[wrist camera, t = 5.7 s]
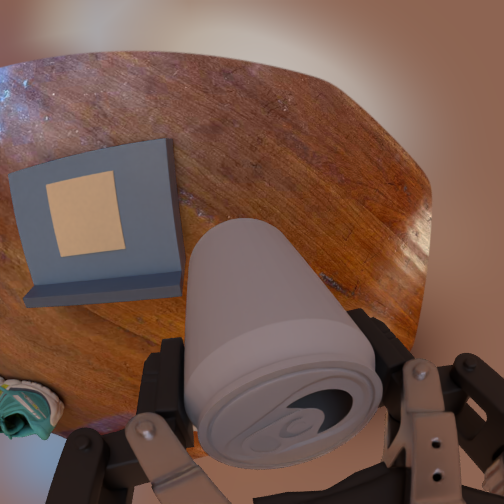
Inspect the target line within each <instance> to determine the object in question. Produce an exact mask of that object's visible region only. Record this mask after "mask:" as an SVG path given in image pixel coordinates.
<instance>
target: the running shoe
mask: <svg viewBox="0 0 504 504" xmlns="http://www.w3.org/2000/svg"><path fill="white" fill-rule="evenodd" d="M63 409H64V404H63V402H62V401H61V400H60V399H59V398H58V395H57V394H55V393H54V392H53V391H51V390H50V389H49V388H48V387H46V386H45V387H44V386H43V385H42V384H40V383H39V384H38V383H37V382H31V381H26V380H24V381H22V382H21V381H19V380H15V379H12V380H6V381H5V379H4V378H3V377H0V433H4V434H5V435H6V436H8V437H9V439H12V437H25V436H29V435H32V434H37V435H38V436H39V437H40V438H41V439H42V440H47V439H48V437H49V436H50V433H51V432H52V430H53V429H54V428H55V426H56V424H57V422H58V421H59V419H60V418H61V416H62V413H63Z"/></svg>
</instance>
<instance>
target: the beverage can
mask: <svg viewBox="0 0 504 504" xmlns="http://www.w3.org/2000/svg"><path fill="white" fill-rule="evenodd" d="M382 393H383V387H382V383H381V380H380V378H379V376H378V375H377V374H376V372H375V354H374V351H373V348H372V345H371V344H370V342H369V341H368V339H367V338H366V337H365V335H364V334H363V333H362V331H361V330H360V329H359V327H358V326H357V325H356V324H355V322H354V321H353V320H352V319H351V317H350V316H349V315H348V313H347V312H346V311H345V310H344V308H343V307H342V306H341V305H340V303H339V302H338V301H337V300H336V298H335V297H334V296H333V295H332V293H331V292H330V291H329V290H328V288H327V287H326V286H325V285H324V283H323V282H322V281H321V280H320V278H319V277H318V276H317V275H316V273H315V272H314V271H313V270H312V269H311V267H310V266H309V265H308V264H307V262H306V261H305V260H304V259H303V258H302V256H301V255H300V254H299V253H298V251H297V250H296V249H295V248H294V247H293V245H292V244H291V243H290V242H289V241H288V239H287V238H286V237H285V236H284V235H283V234H282V233H281V232H280V231H279V230H278V229H277V228H275V227H274V226H272V225H270V224H268V223H266V222H264V221H261V220H257V219H251V218H239V219H232V220H228V221H225V222H223V223H220V224H218V225H216V226H215V227H213V228H211V229H210V230H209V231H208V232H207V233H205V234H204V235H203V236H202V238H201V239H200V240H199V241H198V243H197V244H196V246H195V248H194V250H193V252H192V254H191V258H190V262H189V271H188V286H187V303H186V323H185V350H184V407H185V410H186V413H187V415H188V418H189V419H190V421H191V422H192V424H193V425H194V426H195V427H196V428H197V430H198V439H199V443H200V445H201V447H202V448H203V450H204V451H205V452H206V453H207V454H208V455H209V456H211V457H212V458H214V459H215V460H217V461H219V462H221V463H224V464H227V465H230V466H234V467H238V468H244V469H276V468H283V467H288V466H293V465H297V464H300V463H304V462H307V461H310V460H313V459H316V458H318V457H321V456H323V455H325V454H327V453H329V452H331V451H333V450H335V449H336V448H338V447H340V446H341V445H343V444H344V443H346V442H347V441H349V440H350V439H351V438H353V437H354V436H355V435H356V434H357V433H359V432H360V431H361V430H362V429H363V428H364V427H365V426H366V425H367V423H368V422H369V421H370V420H371V419H372V417H373V416H374V414H375V413H376V411H377V409H378V407H379V404H380V402H381V399H382Z"/></svg>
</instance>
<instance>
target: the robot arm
mask: <svg viewBox="0 0 504 504" xmlns="http://www.w3.org/2000/svg"><path fill="white" fill-rule="evenodd" d="M346 312H347V313H348V315H349V316H350V317H351V319H352V320H353V321H354V322H355V324H356V325H357V326H358V327H359V329H360V330H361V331H362V333H363V334H364V335H365V337H366V338H367V339H368V341H369V342H370V344H371V345H372V348H373V351H374V354H375V372H376V374H377V375H378V376H379V378H380V380H381V383H382V387H383V393H382V399H381V402H380V404H379V407H382V406H385V407H386V408H387V412H386V414H385V435H384V451H383V457H382V460H381V463H379V464H376V465H374V466H371V467H369V468H366V469H363V470H361V471H358V472H355V473H354V474H352V475H350V476H349V477H347V478H346V479H344V480H342V481H341V482H339V483H337V484H335V485H334V486H332V487H330V488H328V489H326V490H323V491H305V492H285V493H280V494H275V495H270V496H264V497H258V498H253V503H254V504H504V379H503V378H502V377H501V376H500V375H499V374H498V373H497V372H495V371H494V370H493V369H492V368H491V367H490V366H488V365H487V364H486V363H485V362H484V361H483V360H481V359H480V358H479V357H478V356H476V355H474V354H471V353H462V354H460V355H458V356H457V357H456V359H455V361H454V363H453V365H449V366H442V367H436V366H435V365H434V364H433V363H432V362H430V361H428V360H426V359H421V358H416V359H415V358H414V357H413V355H412V354H411V353H410V352H409V351H408V350H407V348H406V347H405V346H404V345H403V344H402V343H401V342H400V340H399V339H398V338H396V336H395V335H394V334H393V333H392V332H390V329H389V328H388V327H387V326H386V325H385V324H384V323H383V322H382V321H380V320H378V319H376V318H374V317H372V318H370V317H369V316H368V315H367V314H366V313H365V312H364V311H363V309H361V308H358V309H354V310H349V311H346ZM184 350H185V348H184V344H183V340H182V338H181V337H179V338H169V339H162V344H161V351H160V352H159V353H151V354H150V355H149V357H148V358H147V360H146V361H145V362H144V368H143V375H142V380H141V382H142V383H141V386H140V392H139V399H138V406H137V413H136V416H134V417H133V418H131V419H130V420H129V421H128V423H127V425H126V427H125V429H123V430H120V431H117V432H113V433H109V434H105V435H100V434H99V433H98V432H97V431H96V430H94V429H91V428H80V429H77V430H75V431H74V432H72V433H71V434H70V435H69V437H68V438H67V440H66V443H65V446H64V448H63V451H62V454H61V457H60V459H59V462H58V465H57V468H56V471H55V474H54V477H53V480H52V483H51V486H50V490H49V493H48V496H47V500H46V503H45V504H132V499H133V492H134V486H137V485H141V484H144V483H148V482H151V484H152V489H153V491H154V493H155V495H156V497H157V498H158V500H159V501H160V503H161V504H231V502H230V501H229V500H228V499H227V498H226V497H225V496H224V495H223V494H222V492H221V491H220V490H219V489H218V488H217V486H216V485H215V484H214V483H213V482H212V481H211V479H210V478H209V477H208V476H207V474H206V473H205V472H204V471H203V470H202V468H201V467H200V466H199V465H197V464H196V463H195V462H194V461H193V459H192V458H191V457H190V455H189V454H188V453H187V451H186V448H189V447H194V436H193V424H192V422H191V421H190V419H189V418H188V415H187V413H186V410H185V407H184ZM470 397H471V398H472V399H473V400H474V401H475V402H476V403H477V404H478V405H479V406H480V407H481V408H482V409H483V410H484V411H485V412H486V415H487V421H486V422H485V421H484V420H483V419H482V418H481V417H480V416H479V415H478V414H477V413H476V412H475V411H474V410H473V409H472V408H471V407H470V406H469V405H468V404H467V403H466V402H467V401H468V399H469V398H470ZM379 407H378V408H379ZM458 444H459V445H460V446H461V448H462V449H463V450H464V451H465V452H466V453H467V454H468V456H469V457H470V458H471V459H472V460H473V461H474V463H475V464H476V465H477V466H478V467H479V468H480V470H481V471H482V472H483V473H484V474H485V480H484V481H483V483H482V487H483V489H484V490H485V491H489V492H490V493H489V492H485V491H482V490H477V489H474V488H471V487H467V486H464V485H461V468H460V455H459V445H458Z"/></svg>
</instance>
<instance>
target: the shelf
mask: <svg viewBox="0 0 504 504" xmlns="http://www.w3.org/2000/svg"><path fill="white" fill-rule="evenodd" d="M8 177H9V184H10V191H11V197H12V202H13V207H14V212H15V217H16V222H17V226H18V231H19V235H20V239H21V243H22V246H23V250H24V254H25V257H26V261H27V264H28V267H29V270H30V274H31V277H32V280H33V283H34V286H33V288H32V289H31V290H30V291H29V292H28V293H27V294H26V295H25V296H24V298H23V300H24V303H25V305H26V308H34V307H53V306H70V305H85V304H99V303H112V302H125V301H136V300H147V299H158V298H169V297H179V296H182V291H183V280H184V270H185V261H186V256H185V249H184V242H183V235H182V227H181V219H180V211H179V202H178V193H177V184H176V174H175V163H174V152H173V139H169V138H162V139H155V140H148V141H142V142H136V143H130V144H124V145H119V146H114V147H109V148H104V149H99V150H94V151H90V152H85V153H81V154H77V155H72V156H68V157H64V158H61V159H57V160H53V161H49V162H46V163H42V164H39V165H35V166H32V167H29V168H26V169H22V170H19V171H16V172H13V173H10V174H8Z"/></svg>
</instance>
